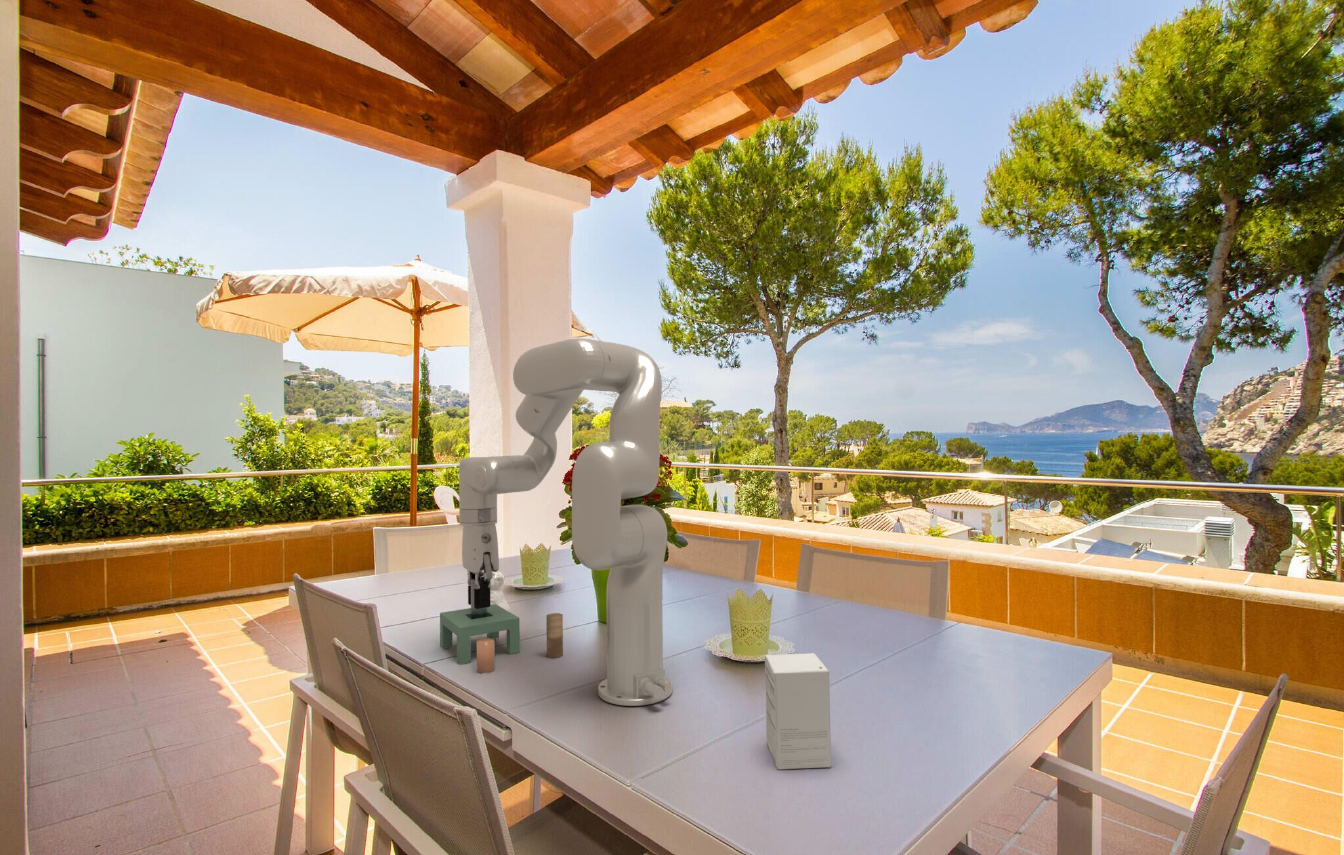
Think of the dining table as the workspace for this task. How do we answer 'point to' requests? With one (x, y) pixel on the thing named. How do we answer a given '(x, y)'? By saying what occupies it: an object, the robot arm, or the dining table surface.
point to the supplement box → (798, 711)
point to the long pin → (474, 612)
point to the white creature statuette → (498, 591)
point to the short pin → (485, 655)
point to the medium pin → (554, 635)
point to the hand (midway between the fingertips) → (479, 604)
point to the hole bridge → (478, 629)
